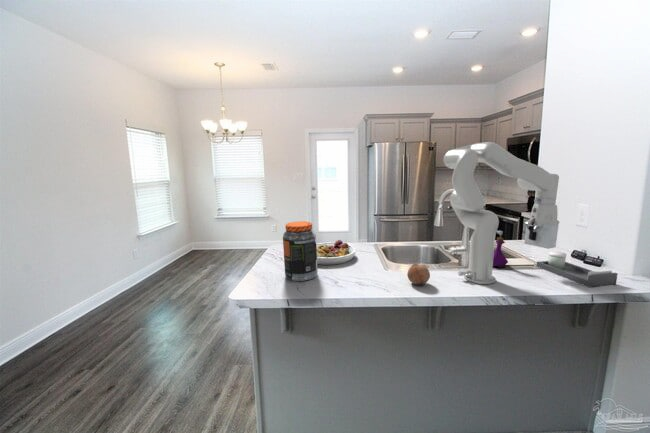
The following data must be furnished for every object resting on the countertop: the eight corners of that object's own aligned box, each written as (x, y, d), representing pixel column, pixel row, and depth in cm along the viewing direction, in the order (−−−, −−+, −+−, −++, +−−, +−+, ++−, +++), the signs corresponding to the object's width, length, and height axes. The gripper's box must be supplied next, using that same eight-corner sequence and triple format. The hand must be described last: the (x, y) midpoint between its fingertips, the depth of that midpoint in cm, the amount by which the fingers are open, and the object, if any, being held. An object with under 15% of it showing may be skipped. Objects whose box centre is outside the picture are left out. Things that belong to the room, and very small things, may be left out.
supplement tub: (321, 271, 149) (320, 220, 144) (311, 283, 134) (309, 227, 130) (292, 269, 154) (290, 219, 149) (279, 280, 139) (276, 226, 134)
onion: (410, 287, 135) (404, 266, 137) (431, 282, 133) (424, 260, 135) (412, 288, 125) (405, 265, 128) (434, 283, 124) (426, 260, 126)
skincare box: (556, 247, 134) (559, 224, 132) (548, 249, 131) (551, 225, 129) (531, 242, 143) (533, 220, 141) (523, 243, 140) (526, 221, 138)
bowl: (340, 270, 151) (340, 255, 150) (292, 261, 166) (291, 248, 164) (363, 254, 176) (363, 241, 175) (320, 248, 191) (319, 236, 190)
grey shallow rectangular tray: (589, 287, 123) (591, 275, 122) (536, 266, 149) (537, 256, 148) (615, 284, 125) (617, 273, 124) (558, 264, 151) (560, 254, 150)
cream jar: (556, 270, 141) (558, 255, 140) (544, 265, 148) (545, 251, 147) (568, 269, 142) (570, 254, 141) (555, 264, 149) (557, 250, 148)
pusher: (589, 283, 125) (590, 272, 124) (586, 282, 126) (588, 271, 125) (610, 281, 126) (611, 270, 125) (607, 280, 127) (609, 269, 126)
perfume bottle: (507, 268, 147) (511, 232, 144) (491, 267, 148) (494, 232, 145) (502, 263, 154) (505, 229, 151) (486, 262, 156) (489, 229, 152)
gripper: (535, 202, 128) (530, 242, 131) (570, 202, 131) (564, 240, 134) (521, 200, 135) (517, 238, 138) (554, 200, 138) (549, 236, 141)
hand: (540, 239), depth 136 cm, fingers closed on skincare box, 7 cm apart
